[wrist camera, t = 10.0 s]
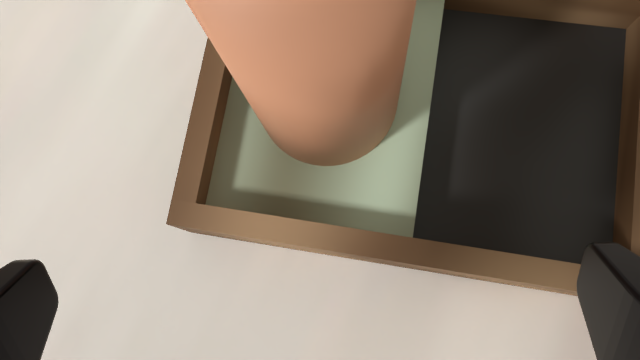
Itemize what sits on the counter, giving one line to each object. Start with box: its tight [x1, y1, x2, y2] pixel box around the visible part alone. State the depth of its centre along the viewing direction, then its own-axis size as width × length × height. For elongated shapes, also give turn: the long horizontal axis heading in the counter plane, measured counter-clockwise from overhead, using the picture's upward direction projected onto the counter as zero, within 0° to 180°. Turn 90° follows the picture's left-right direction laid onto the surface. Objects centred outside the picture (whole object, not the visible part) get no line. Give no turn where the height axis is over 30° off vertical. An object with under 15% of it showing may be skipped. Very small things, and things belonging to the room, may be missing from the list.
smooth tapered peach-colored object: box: [185, 0, 416, 166], centre depth 14 cm, size 5×5×10 cm
